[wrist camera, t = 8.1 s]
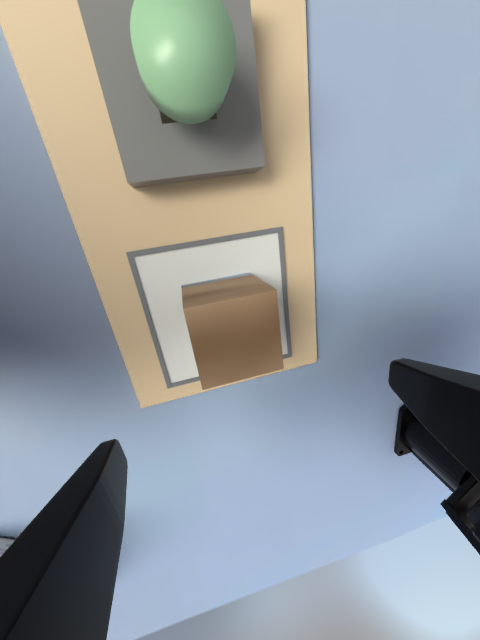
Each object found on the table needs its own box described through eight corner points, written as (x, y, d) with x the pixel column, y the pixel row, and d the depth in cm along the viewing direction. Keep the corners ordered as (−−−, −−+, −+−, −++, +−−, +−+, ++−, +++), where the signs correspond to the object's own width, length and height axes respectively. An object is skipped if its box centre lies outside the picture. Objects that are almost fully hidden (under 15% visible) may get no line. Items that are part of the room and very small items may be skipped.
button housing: (254, 173, 15) (265, 166, 13) (133, 188, 14) (127, 183, 12) (237, 12, 12) (248, -24, 11) (87, 16, 11) (70, -25, 10)
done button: (226, 134, 13) (242, 104, 10) (155, 141, 12) (147, 112, 9) (213, 40, 12) (227, -30, 8) (132, 44, 11) (114, -31, 8)
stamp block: (257, 333, 18) (283, 368, 14) (195, 347, 18) (202, 389, 13) (249, 272, 17) (276, 289, 12) (181, 285, 16) (182, 308, 11)
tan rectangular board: (315, 360, 21) (318, 363, 20) (141, 405, 19) (140, 410, 18) (301, -16, 13) (306, -25, 12) (-12, -16, 10) (-20, -27, 10)
